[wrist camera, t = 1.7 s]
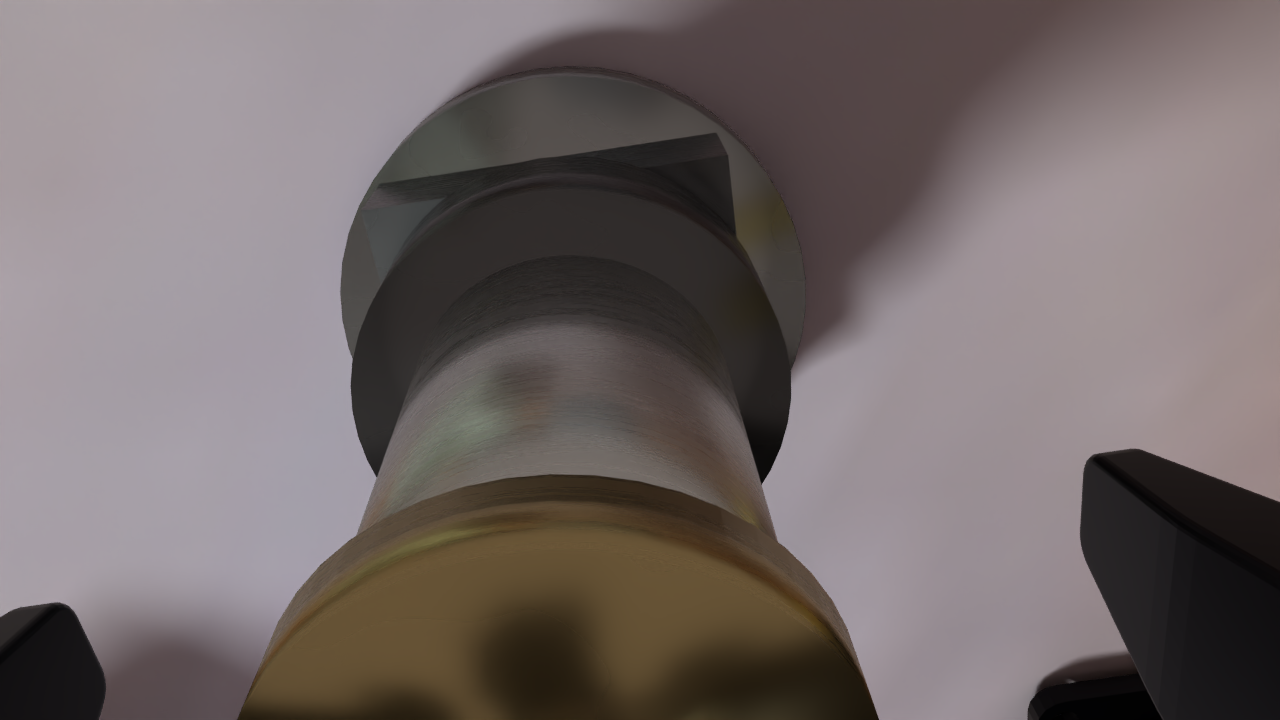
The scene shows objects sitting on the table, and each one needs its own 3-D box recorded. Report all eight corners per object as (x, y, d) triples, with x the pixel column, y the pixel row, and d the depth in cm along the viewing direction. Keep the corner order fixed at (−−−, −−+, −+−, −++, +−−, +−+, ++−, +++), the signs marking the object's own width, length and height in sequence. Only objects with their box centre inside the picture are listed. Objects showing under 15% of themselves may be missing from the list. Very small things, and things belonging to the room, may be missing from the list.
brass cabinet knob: (750, 125, 12) (953, 427, 5) (784, 486, 14) (957, 1015, 7) (329, 190, 12) (14, 562, 5) (427, 537, 14) (288, 1107, 7)
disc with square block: (776, 32, 13) (805, 55, 11) (809, 448, 16) (837, 520, 14) (298, 105, 13) (252, 140, 12) (412, 506, 16) (389, 585, 14)
